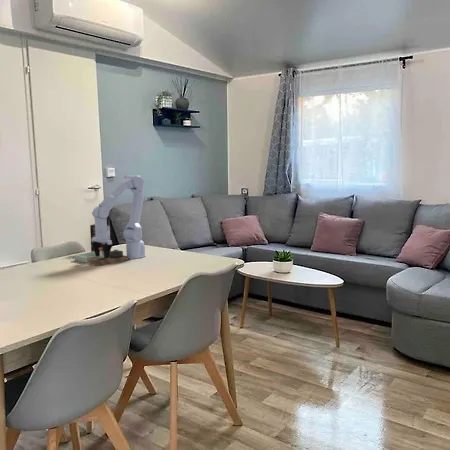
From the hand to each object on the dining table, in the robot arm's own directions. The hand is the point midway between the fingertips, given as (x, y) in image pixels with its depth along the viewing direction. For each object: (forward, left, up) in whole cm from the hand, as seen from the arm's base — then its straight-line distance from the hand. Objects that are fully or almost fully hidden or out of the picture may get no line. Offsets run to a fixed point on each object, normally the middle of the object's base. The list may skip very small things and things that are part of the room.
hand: (102, 256), depth 239 cm
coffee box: (-15, -23, -3) cm, 28 cm away
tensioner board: (-4, 0, -3) cm, 5 cm away
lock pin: (0, 0, -3) cm, 3 cm away
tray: (0, -11, -3) cm, 11 cm away
